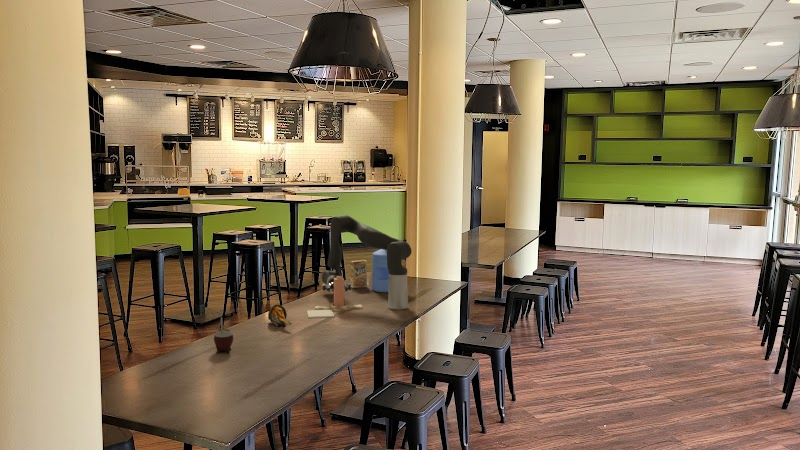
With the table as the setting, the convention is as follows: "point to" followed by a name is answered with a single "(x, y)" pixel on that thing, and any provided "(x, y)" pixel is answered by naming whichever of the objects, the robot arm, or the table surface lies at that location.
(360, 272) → the candy box
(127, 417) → the table surface
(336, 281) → the salmon block with knob
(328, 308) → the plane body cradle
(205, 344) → the table surface
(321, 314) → the felt pad
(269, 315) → the fried shrimp in bowl
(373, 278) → the water jug
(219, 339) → the mate gourd
